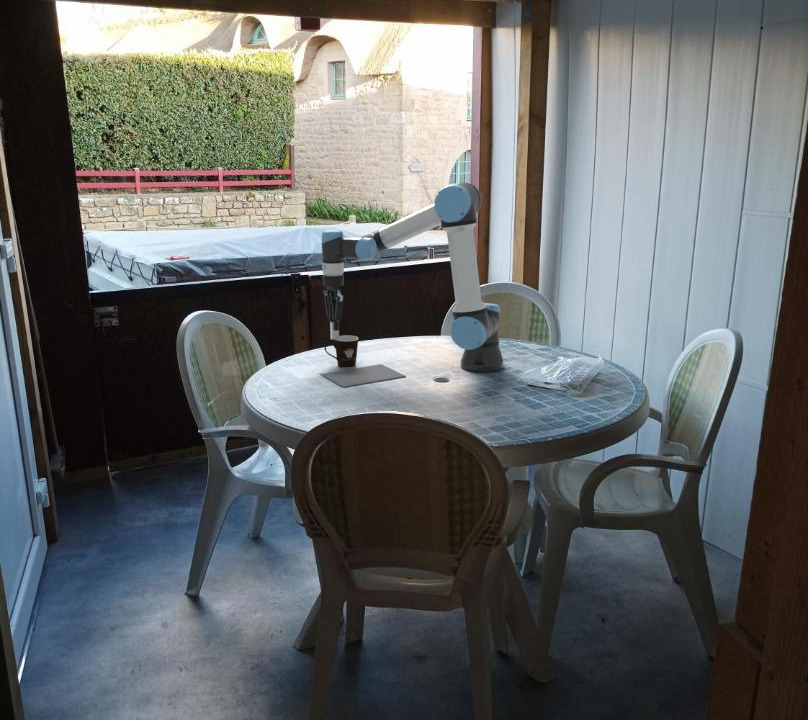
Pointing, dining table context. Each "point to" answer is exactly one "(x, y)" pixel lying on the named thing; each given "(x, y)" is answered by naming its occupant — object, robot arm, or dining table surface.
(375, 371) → the mat
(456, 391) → the dining table surface
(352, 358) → the coffee mug
